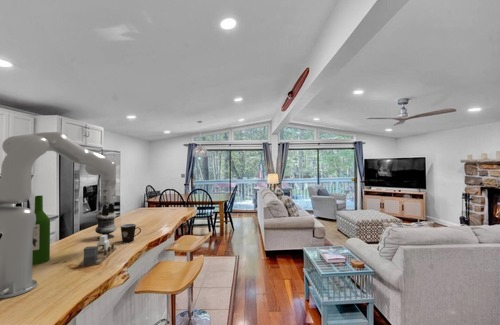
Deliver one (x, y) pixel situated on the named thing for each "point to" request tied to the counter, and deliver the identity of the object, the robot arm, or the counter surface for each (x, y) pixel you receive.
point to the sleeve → (104, 242)
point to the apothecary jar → (105, 224)
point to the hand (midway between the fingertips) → (108, 214)
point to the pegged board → (96, 255)
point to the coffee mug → (128, 232)
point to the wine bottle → (41, 234)
